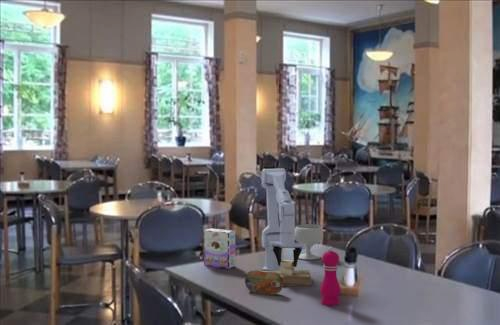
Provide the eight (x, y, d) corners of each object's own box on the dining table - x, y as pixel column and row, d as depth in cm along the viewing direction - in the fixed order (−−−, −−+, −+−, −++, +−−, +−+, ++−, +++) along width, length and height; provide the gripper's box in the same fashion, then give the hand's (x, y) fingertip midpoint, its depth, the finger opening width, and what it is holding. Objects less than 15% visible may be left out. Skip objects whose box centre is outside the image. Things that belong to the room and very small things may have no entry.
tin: (244, 291, 215) (244, 269, 215) (248, 289, 218) (248, 267, 217) (280, 296, 208) (280, 274, 208) (284, 294, 211) (284, 272, 210)
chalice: (328, 257, 271) (328, 226, 270) (311, 262, 261) (311, 230, 260) (304, 253, 280) (305, 222, 280) (287, 257, 270) (287, 226, 269)
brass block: (264, 280, 233) (264, 270, 232) (308, 280, 232) (308, 270, 232) (265, 287, 223) (265, 276, 222) (311, 286, 222) (311, 276, 222)
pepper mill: (327, 307, 195) (328, 250, 194) (316, 301, 202) (316, 246, 200) (344, 304, 199) (345, 247, 197) (332, 298, 205) (333, 244, 204)
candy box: (236, 266, 253) (236, 230, 252) (228, 269, 248) (228, 232, 247) (211, 263, 260) (210, 227, 259) (203, 265, 255) (203, 229, 254)
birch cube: (283, 271, 230) (283, 259, 230) (294, 272, 229) (294, 260, 228) (280, 274, 226) (280, 262, 226) (291, 275, 224) (291, 263, 224)
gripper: (267, 232, 225) (267, 266, 226) (302, 235, 220) (302, 269, 221) (272, 229, 232) (272, 262, 232) (307, 231, 227) (306, 265, 227)
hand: (287, 265), depth 227 cm, fingers open, 6 cm apart
